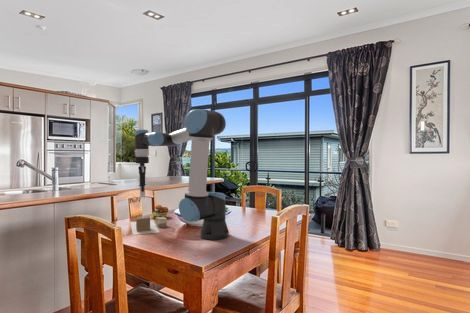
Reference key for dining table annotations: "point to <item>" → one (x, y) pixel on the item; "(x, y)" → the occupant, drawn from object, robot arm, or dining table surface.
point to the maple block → (161, 222)
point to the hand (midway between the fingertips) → (142, 197)
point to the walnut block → (143, 223)
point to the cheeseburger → (159, 212)
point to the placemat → (152, 230)
